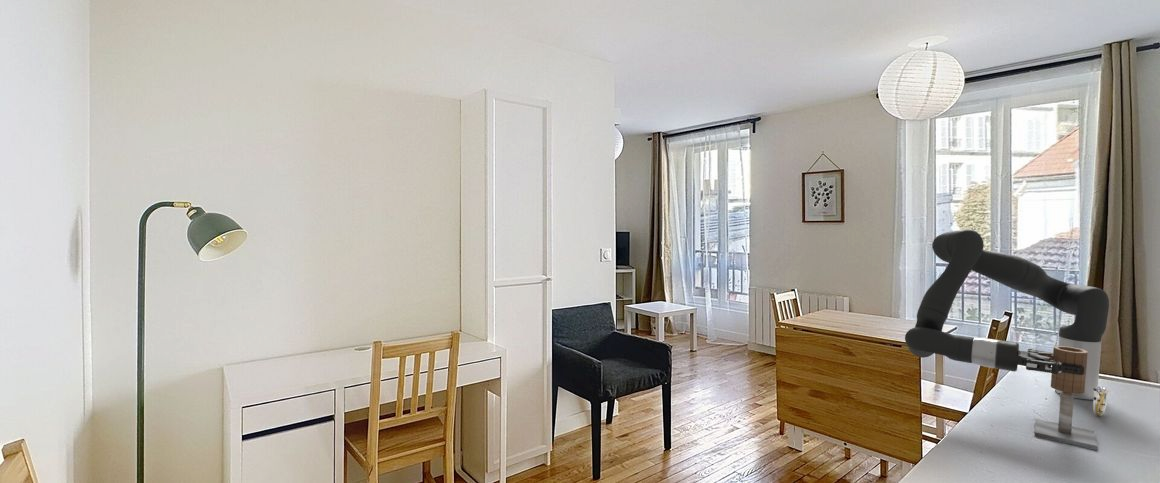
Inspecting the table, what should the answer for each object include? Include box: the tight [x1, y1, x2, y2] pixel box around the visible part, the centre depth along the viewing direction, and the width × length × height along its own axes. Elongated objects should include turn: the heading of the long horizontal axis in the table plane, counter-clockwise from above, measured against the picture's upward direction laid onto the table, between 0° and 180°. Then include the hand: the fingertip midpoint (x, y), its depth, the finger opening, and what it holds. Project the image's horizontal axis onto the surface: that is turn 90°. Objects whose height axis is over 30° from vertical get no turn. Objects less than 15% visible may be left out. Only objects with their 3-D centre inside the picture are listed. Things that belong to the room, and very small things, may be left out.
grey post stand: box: [1034, 392, 1099, 451], centre depth 128 cm, size 11×11×11 cm
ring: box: [1092, 385, 1110, 417], centre depth 141 cm, size 7×3×8 cm, turn 117°
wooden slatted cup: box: [1050, 345, 1088, 394], centre depth 127 cm, size 6×6×10 cm
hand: (1082, 367), depth 125 cm, fingers closed on wooden slatted cup, 6 cm apart
